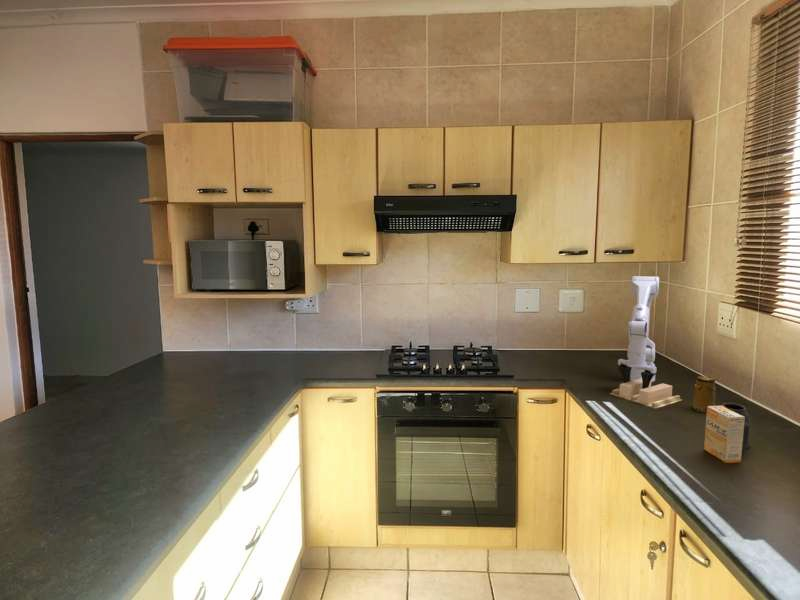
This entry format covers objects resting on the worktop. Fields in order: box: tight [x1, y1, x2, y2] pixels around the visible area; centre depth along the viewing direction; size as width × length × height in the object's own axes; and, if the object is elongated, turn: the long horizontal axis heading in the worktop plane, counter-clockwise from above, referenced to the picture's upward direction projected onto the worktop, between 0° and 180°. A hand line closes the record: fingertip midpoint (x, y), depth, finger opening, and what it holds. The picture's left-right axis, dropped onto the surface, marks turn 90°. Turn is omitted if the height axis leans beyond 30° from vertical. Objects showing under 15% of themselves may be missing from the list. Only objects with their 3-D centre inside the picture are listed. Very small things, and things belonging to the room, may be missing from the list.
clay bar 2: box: [639, 383, 673, 405], centre depth 172 cm, size 14×4×4 cm, turn 119°
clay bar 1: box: [619, 378, 652, 400], centre depth 178 cm, size 14×4×4 cm, turn 120°
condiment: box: [692, 375, 716, 414], centre depth 160 cm, size 7×8×12 cm
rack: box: [609, 387, 682, 409], centre depth 175 cm, size 16×18×2 cm
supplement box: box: [703, 405, 745, 464], centre depth 129 cm, size 8×5×13 cm, turn 5°
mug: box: [721, 402, 751, 451], centre depth 135 cm, size 12×9×11 cm
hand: (635, 387), depth 178 cm, fingers open, 7 cm apart
